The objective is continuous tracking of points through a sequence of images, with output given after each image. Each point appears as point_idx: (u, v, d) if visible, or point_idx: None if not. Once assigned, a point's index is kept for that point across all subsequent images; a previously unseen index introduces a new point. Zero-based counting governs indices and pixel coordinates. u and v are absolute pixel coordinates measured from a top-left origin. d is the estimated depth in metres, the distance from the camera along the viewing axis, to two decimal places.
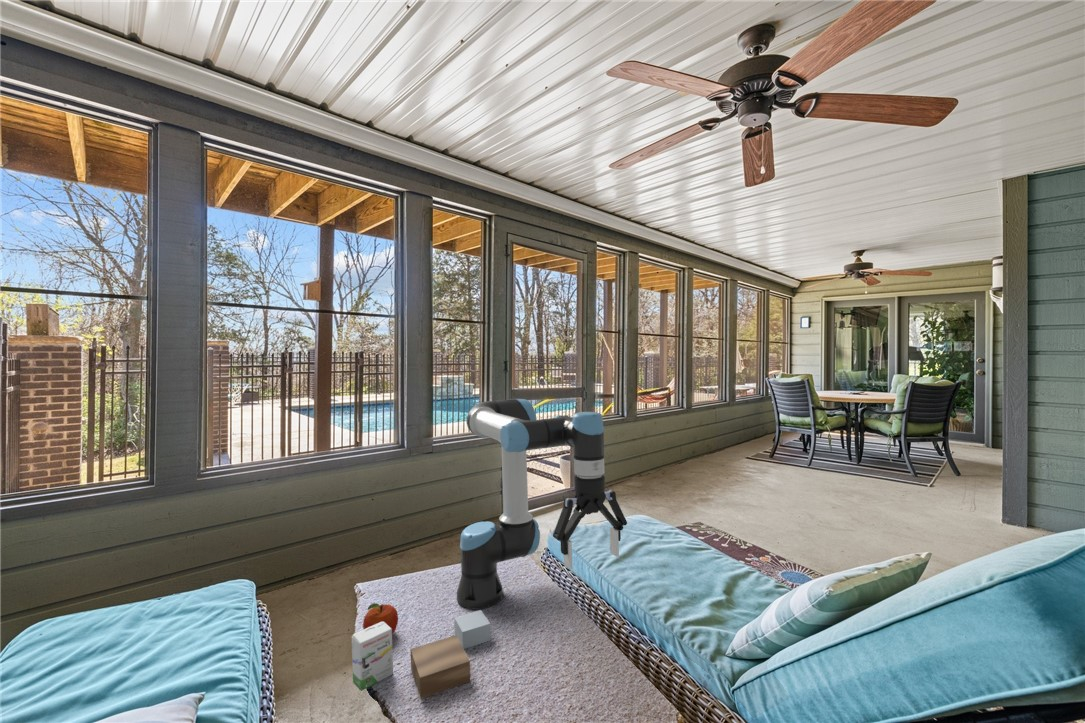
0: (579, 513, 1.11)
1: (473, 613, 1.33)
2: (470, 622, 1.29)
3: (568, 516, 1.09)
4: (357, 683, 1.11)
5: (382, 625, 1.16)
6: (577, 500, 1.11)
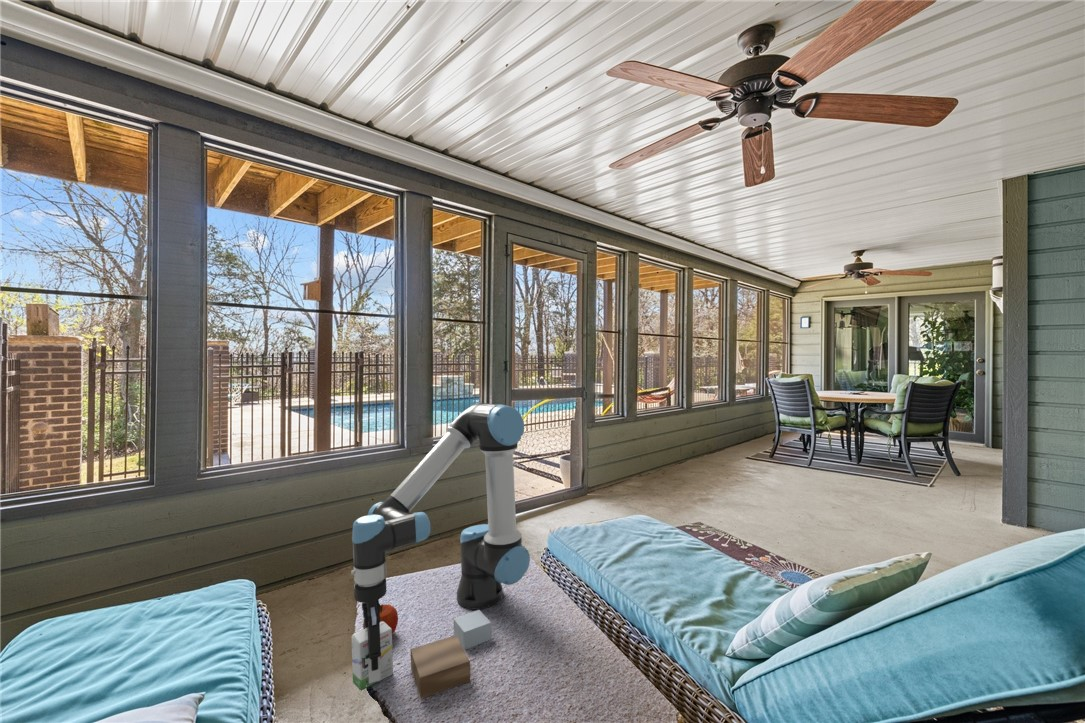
0: None
1: (472, 613, 1.33)
2: (471, 622, 1.29)
3: None
4: (357, 683, 1.11)
5: (382, 625, 1.16)
6: None
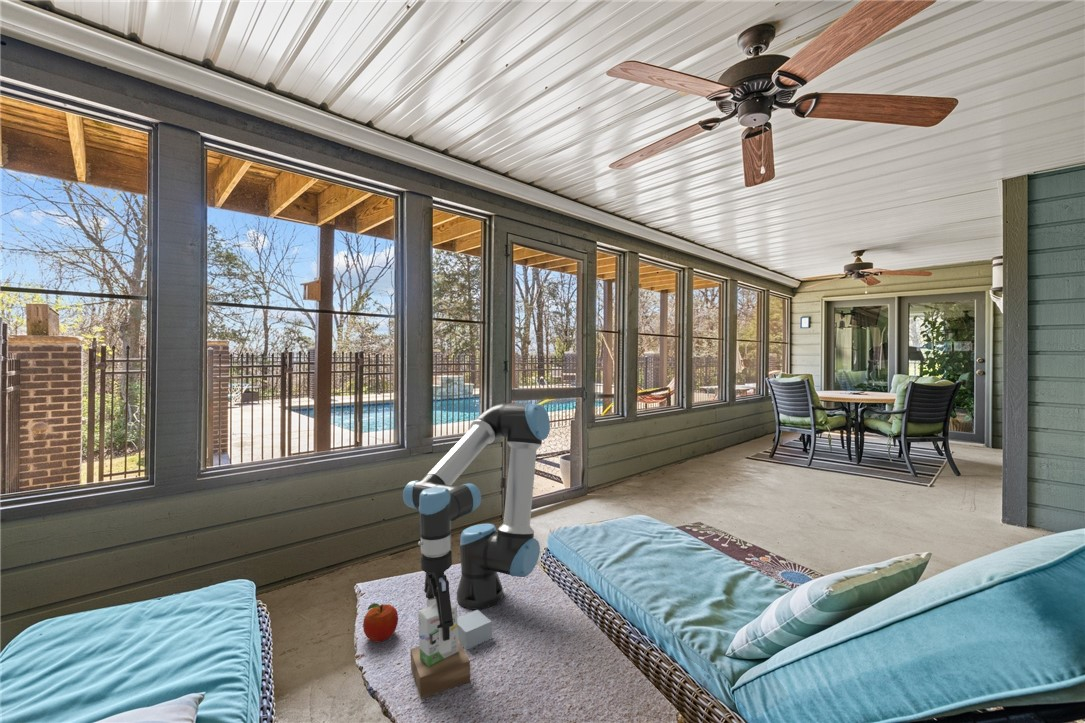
0: None
1: (471, 613, 1.33)
2: (471, 622, 1.29)
3: (426, 576, 1.20)
4: (424, 659, 1.11)
5: None
6: None
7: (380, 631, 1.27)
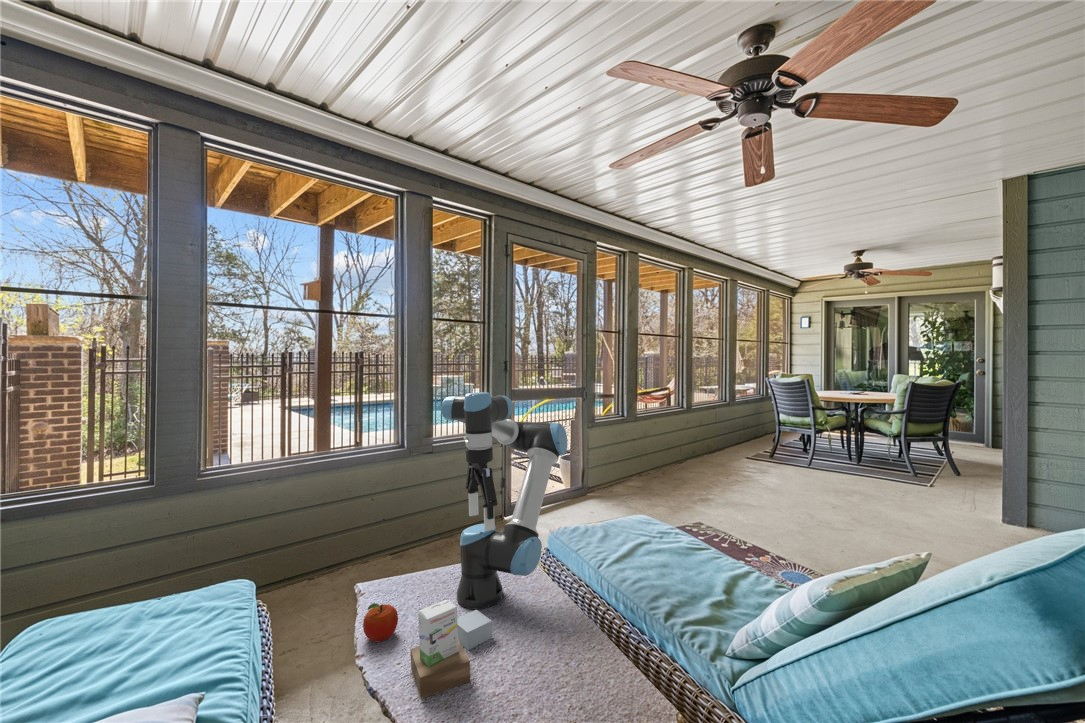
0: None
1: (470, 613, 1.33)
2: (471, 622, 1.29)
3: (468, 473, 1.35)
4: (424, 659, 1.11)
5: (447, 603, 1.17)
6: None
7: (380, 631, 1.27)
